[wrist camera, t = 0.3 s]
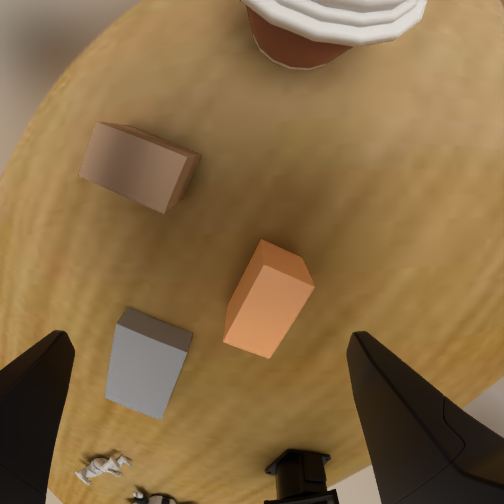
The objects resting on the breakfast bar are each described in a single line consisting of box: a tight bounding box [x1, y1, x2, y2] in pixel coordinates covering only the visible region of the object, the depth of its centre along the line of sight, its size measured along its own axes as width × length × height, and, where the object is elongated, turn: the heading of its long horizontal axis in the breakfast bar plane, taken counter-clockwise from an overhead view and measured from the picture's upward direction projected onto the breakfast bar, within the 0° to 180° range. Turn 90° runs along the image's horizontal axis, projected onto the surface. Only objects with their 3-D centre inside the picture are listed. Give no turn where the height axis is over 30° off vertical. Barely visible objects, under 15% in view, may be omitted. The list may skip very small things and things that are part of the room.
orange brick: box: [223, 239, 315, 359], centre depth 21 cm, size 6×3×5 cm, turn 155°
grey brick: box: [105, 307, 193, 420], centre depth 25 cm, size 10×6×3 cm, turn 157°
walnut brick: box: [78, 122, 201, 214], centre depth 18 cm, size 6×3×5 cm, turn 65°
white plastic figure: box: [75, 455, 132, 485], centre depth 32 cm, size 8×5×12 cm
